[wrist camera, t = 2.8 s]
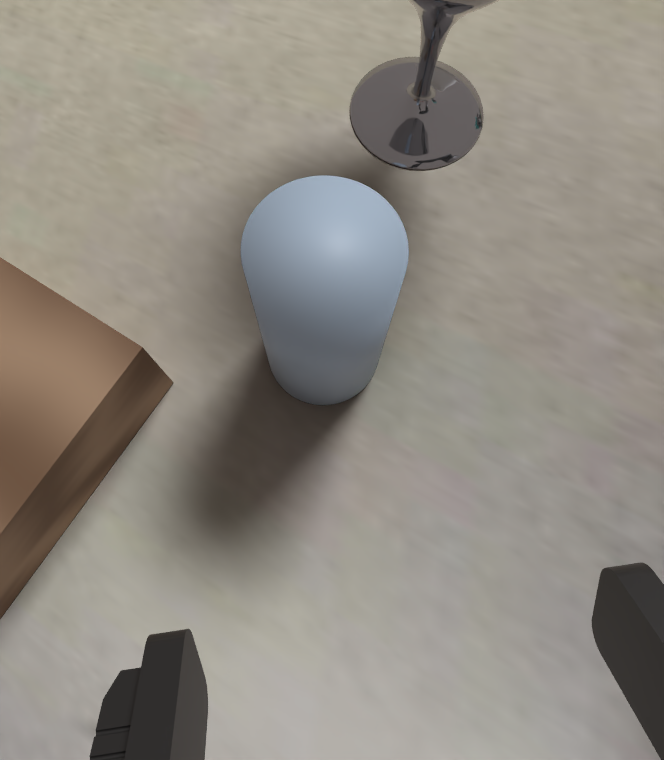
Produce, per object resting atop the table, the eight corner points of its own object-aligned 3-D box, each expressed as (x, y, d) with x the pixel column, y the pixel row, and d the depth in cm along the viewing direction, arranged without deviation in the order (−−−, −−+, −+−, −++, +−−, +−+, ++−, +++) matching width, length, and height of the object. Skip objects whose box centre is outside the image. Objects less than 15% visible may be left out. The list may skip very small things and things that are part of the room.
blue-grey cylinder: (306, 281, 29) (300, 148, 20) (398, 335, 28) (438, 226, 19) (246, 367, 28) (207, 271, 18) (341, 426, 27) (352, 358, 18)
